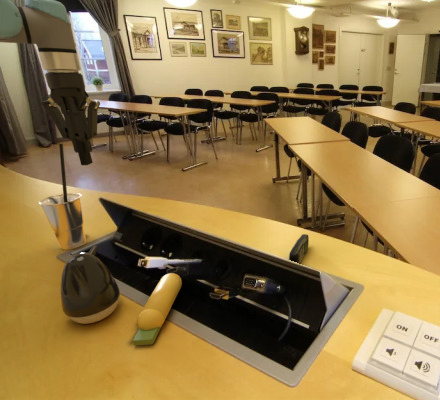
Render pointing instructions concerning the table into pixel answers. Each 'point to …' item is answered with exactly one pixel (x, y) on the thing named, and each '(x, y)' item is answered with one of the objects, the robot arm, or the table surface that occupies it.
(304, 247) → the mobile phone
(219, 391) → the table surface
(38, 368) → the table surface
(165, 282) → the corn cob
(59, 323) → the table surface
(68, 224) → the silver cup with straw
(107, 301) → the dark brown egg shape
